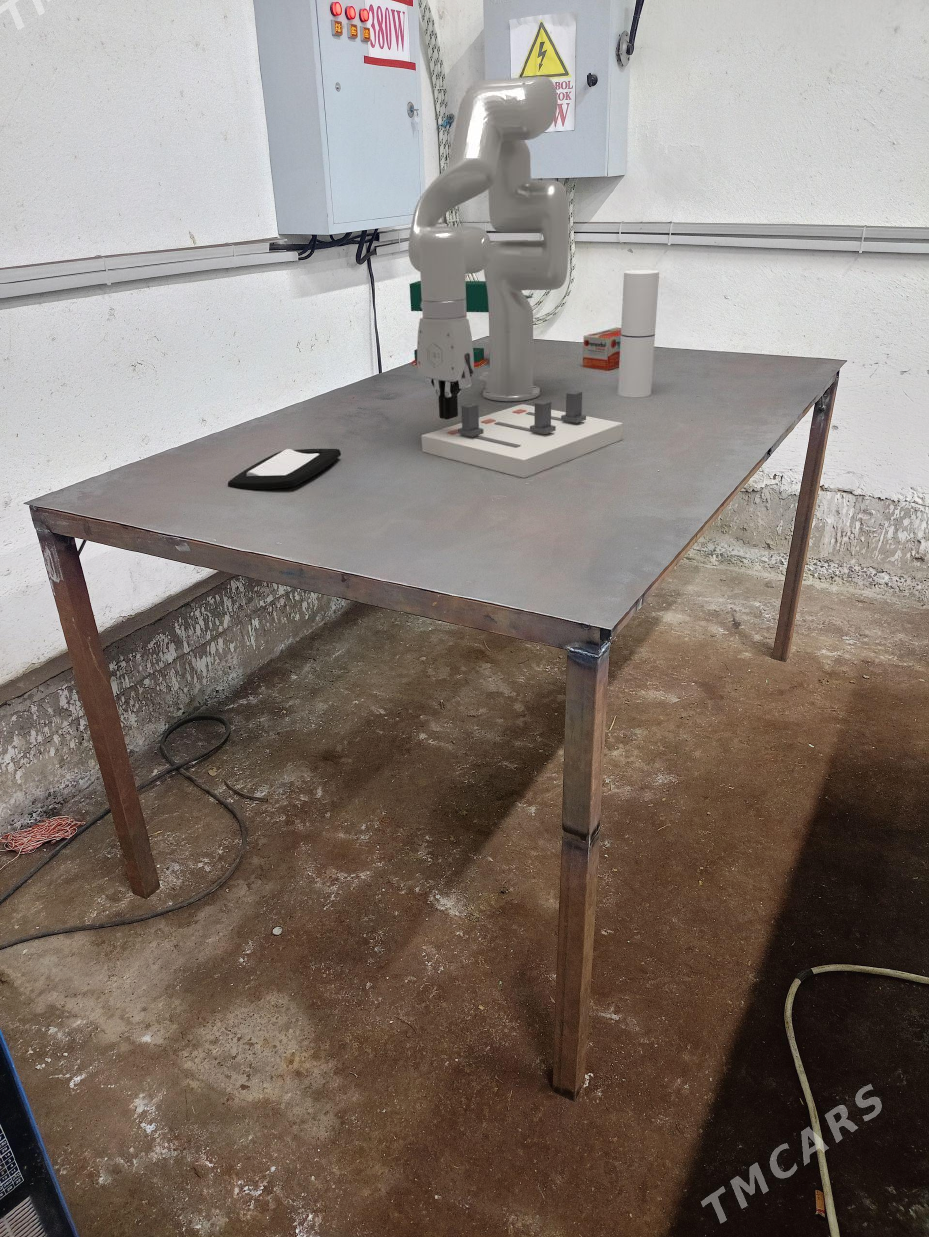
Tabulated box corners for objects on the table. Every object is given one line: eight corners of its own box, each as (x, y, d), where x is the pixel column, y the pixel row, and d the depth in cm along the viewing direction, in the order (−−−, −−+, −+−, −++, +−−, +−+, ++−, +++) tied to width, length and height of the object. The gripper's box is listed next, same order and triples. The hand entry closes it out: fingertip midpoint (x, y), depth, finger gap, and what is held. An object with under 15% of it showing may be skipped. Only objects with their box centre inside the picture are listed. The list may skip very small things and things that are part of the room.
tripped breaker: (457, 433, 152) (456, 405, 149) (468, 429, 153) (467, 402, 151) (472, 436, 149) (471, 408, 147) (483, 433, 151) (482, 405, 149)
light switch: (277, 444, 156) (345, 441, 152) (280, 459, 158) (348, 457, 153) (217, 478, 140) (292, 476, 135) (222, 495, 141) (296, 494, 136)
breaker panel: (422, 451, 155) (421, 434, 153) (522, 419, 172) (522, 403, 171) (524, 477, 140) (524, 458, 138) (622, 439, 157) (623, 422, 156)
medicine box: (615, 357, 224) (616, 326, 220) (641, 361, 219) (643, 328, 215) (581, 368, 214) (582, 335, 211) (608, 371, 209) (610, 338, 206)
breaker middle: (529, 430, 152) (529, 402, 149) (539, 427, 154) (539, 399, 151) (545, 434, 150) (545, 405, 147) (555, 430, 151) (556, 402, 149)
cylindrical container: (614, 396, 186) (620, 273, 175) (621, 389, 192) (628, 269, 180) (647, 398, 184) (655, 273, 172) (653, 390, 190) (662, 270, 178)
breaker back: (561, 419, 157) (561, 392, 155) (570, 416, 159) (571, 389, 157) (576, 423, 155) (577, 395, 153) (586, 419, 157) (586, 392, 155)
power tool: (537, 364, 220) (538, 281, 210) (530, 369, 214) (530, 284, 205) (422, 360, 229) (417, 280, 220) (412, 365, 224) (407, 283, 214)
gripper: (398, 309, 148) (405, 415, 156) (460, 316, 138) (464, 428, 147) (429, 304, 152) (434, 407, 161) (491, 310, 143) (493, 419, 152)
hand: (448, 417), depth 154 cm, fingers closed
